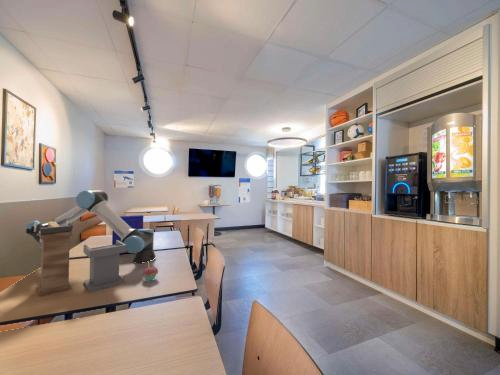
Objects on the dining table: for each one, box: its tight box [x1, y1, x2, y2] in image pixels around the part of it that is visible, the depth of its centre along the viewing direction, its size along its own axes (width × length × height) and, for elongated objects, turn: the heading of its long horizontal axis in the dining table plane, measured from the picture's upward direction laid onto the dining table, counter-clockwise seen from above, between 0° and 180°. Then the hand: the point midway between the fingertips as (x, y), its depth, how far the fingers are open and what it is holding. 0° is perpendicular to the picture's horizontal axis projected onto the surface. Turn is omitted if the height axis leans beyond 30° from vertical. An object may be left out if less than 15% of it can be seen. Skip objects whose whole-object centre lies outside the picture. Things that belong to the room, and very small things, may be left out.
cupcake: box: [141, 262, 159, 282], centre depth 127 cm, size 9×8×12 cm
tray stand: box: [83, 240, 126, 293], centre depth 121 cm, size 15×17×22 cm
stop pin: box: [40, 220, 73, 235], centre depth 118 cm, size 24×12×3 cm, turn 48°
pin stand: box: [36, 231, 73, 297], centre depth 114 cm, size 14×12×30 cm
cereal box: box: [111, 214, 144, 255], centre depth 178 cm, size 22×6×30 cm, turn 122°
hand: (52, 223), depth 123 cm, fingers open, 13 cm apart
